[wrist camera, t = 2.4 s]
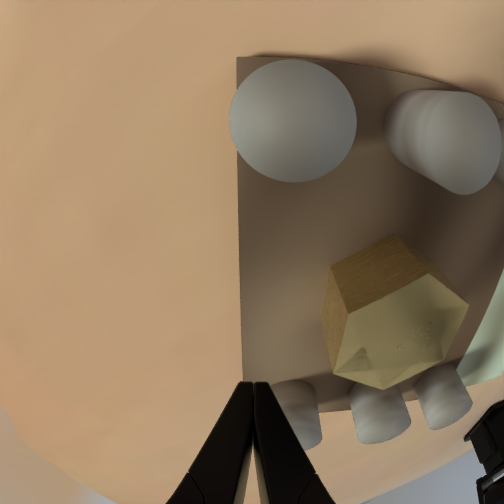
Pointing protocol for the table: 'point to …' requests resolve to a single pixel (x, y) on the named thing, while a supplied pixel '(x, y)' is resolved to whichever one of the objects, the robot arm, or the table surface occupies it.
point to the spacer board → (363, 226)
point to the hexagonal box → (388, 314)
